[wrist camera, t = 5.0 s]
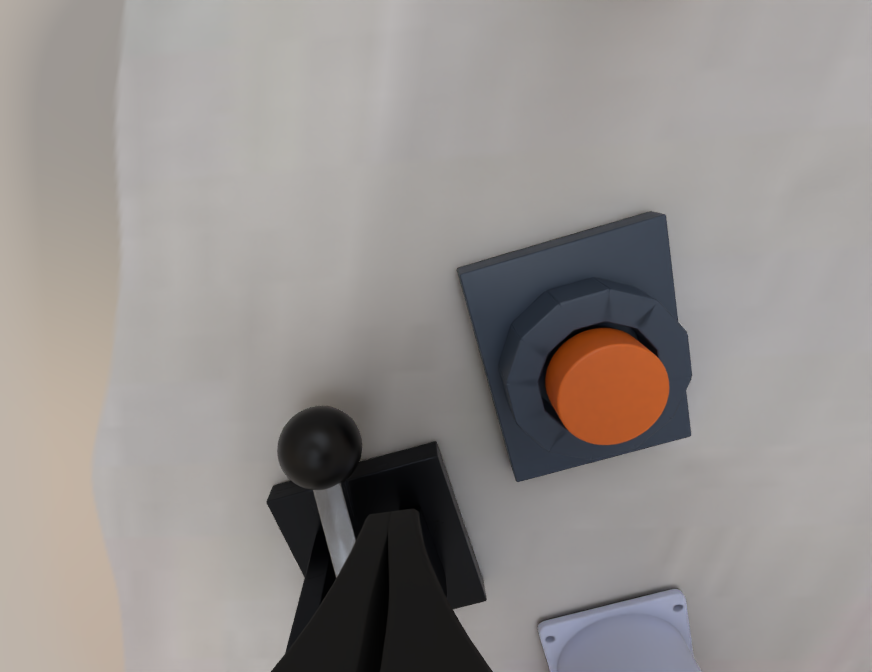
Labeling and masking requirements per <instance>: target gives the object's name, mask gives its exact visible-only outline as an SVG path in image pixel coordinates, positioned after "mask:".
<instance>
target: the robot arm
mask: <svg viewBox="0 0 872 672" xmlns="http://www.w3.org/2000/svg"><path fill="white" fill-rule="evenodd" d="M538 633H539V636H540V640H541V643H542V646H543V650H544V653H545V656H546V660H547V663H548V666H549V670H550V672H702V671H701V669H700V667H699V665H698V664H697V662H696V660H695V658H694V655H693V647H692V640H691V633H690V626H689V619H688V612H687V605H686V598H685V596H684V594H683V593H682V591H681V590H679V589H671V590H667V591H662V592H658V593H654V594H650V595H646V596H642V597H638V598H634V599H630V600H626V601H622V602H618V603H614V604H610V605H606V606H602V607H598V608H594V609H590V610H586V611H582V612H578V613H574V614H570V615H566V616H561V617H557V618H553V619H549V620H545V621H543V622H541V623H540V624H539V625H538ZM271 672H493V671H492V670H491V669H490V667H489V666H488V664H487V663H486V661H485V660H484V658H483V657H482V656H481V654H480V653H479V651H478V650H477V648H476V647H475V645H474V644H473V643H472V641H471V640H470V638H469V636H468V635H467V633H466V631H465V630H464V628H463V627H462V625H461V623H460V622H459V620H458V618H457V616H456V615H455V613H454V611H453V609H452V607H451V606H450V604H449V602H448V600H447V598H446V596H445V594H444V592H443V590H442V588H441V586H440V583H439V581H438V579H437V577H436V575H435V572H434V570H433V567H432V565H431V562H430V560H429V557H428V554H427V552H426V549H425V546H424V540H423V534H422V529H421V523H420V517H419V512H418V511H417V510H415V509H407V510H399V511H392V512H384V513H377V514H369V516H368V517H367V518H366V520H365V522H364V524H363V527H362V529H361V531H360V533H359V536H358V538H357V540H356V542H355V544H354V546H353V548H352V550H351V552H350V554H349V556H348V558H347V560H346V561H345V563H344V565H343V567H342V569H341V571H340V572H339V574H338V576H337V578H336V580H335V581H334V583H333V585H332V586H331V588H330V590H329V591H328V593H327V595H326V596H325V598H324V599H323V601H322V603H321V604H320V606H319V608H318V609H317V611H316V612H315V614H314V615H313V617H312V618H311V620H310V621H309V623H308V624H307V625H306V627H305V628H304V630H303V631H302V632H301V634H300V635H299V636H298V638H297V639H296V641H295V642H294V643H293V645H292V646H291V647H290V648H289V650H288V651H287V652H286V653H285V655H284V656H283V657H282V658H281V660H280V661H279V662H278V663H277V665H276V666H275V667H274V668H273V670H272V671H271Z"/></svg>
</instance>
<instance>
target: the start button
mask: <svg viewBox="0 0 872 672" xmlns="http://www.w3.org/2000/svg"><path fill="white" fill-rule="evenodd" d="M545 387H546V392H547V395H548V398H549V400H550V402H551V404H552V406H553V407H554V409H555V411H556V413H557V415H558V416H559V418H560V420H561V422H562V423H563V425H564V426H565V428H566V429H567V430H568V431H569V432H570V433H571V434H573V435H574V436H575V437H577V438H579V439H580V440H583V441H585V442H588V443H592V444H597V445H614V444H619V443H623V442H626V441H629V440H631V439H634V438H636V437H638V436H639V435H641V434H642V433H644V432H645V431H647V430H648V429H649V428H650V427H651V426H652V425H653V424H654V423H655V422H656V421H657V420H658V418H659V417H660V415H661V414H662V412H663V410H664V408H665V406H666V403H667V400H668V396H669V379H668V374H667V371H666V369H665V367H664V365H663V363H662V362H661V361H660V359H659V358H658V357H657V356H656V355H655V354H654V353H652V352H651V351H650V350H649V349H647V348H646V347H645V346H644V345H643V344H641V343H640V342H639V341H638V340H636V339H635V338H634V337H633V336H631V335H630V334H628V333H626V332H624V331H621V330H618V329H613V328H595V329H590V330H586V331H584V332H581V333H579V334H577V335H575V336H573V337H571V338H570V339H568V340H567V341H566V342H565V343H563V344H562V345H561V346H560V347H559V348H558V350H557V351H556V352H555V354H554V355H553V357H552V358H551V360H550V363H549V365H548V368H547V371H546V377H545Z"/></svg>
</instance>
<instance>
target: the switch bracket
mask: <svg viewBox="0 0 872 672" xmlns="http://www.w3.org/2000/svg"><path fill="white" fill-rule="evenodd" d="M347 480H348V484H349V487H350V491H351V495H352V499H353V502H354V506H355V510H356V513H357V517H358V521H359V525H360V528H361V529H362V527H363V524H364V522H365V520H366V518H367V517H368V516H369V514H377V513H384V512H392V511H399V510H407V509H415V510H417V511H418V512H419V517H420V523H421V529H422V534H423V540H424V546H425V549H426V552H427V554H428V557H429V560H430V562H431V565H432V567H433V570H434V572H435V575H436V577H437V579H438V581H439V583H440V586H441V588H442V590H443V592H444V594H445V596H446V598H447V600H448V602H449V604H450V606H451V607H452V609H456V608H460V607H464V606H468V605H472V604H476V603H480V602H484V601H486V600H487V599H486V593H485V587H484V581H483V578H482V575H481V572H480V569H479V566H478V563H477V560H476V557H475V554H474V552H473V549H472V546H471V543H470V540H469V537H468V534H467V531H466V528H465V525H464V522H463V519H462V516H461V513H460V510H459V507H458V504H457V501H456V498H455V495H454V492H453V489H452V486H451V483H450V480H449V477H448V474H447V471H446V468H445V465H444V462H443V459H442V456H441V453H440V451H439V448H438V445H437V442H431V443H428V444H424V445H420V446H417V447H413V448H409V449H406V450H402V451H398V452H395V453H391V454H387V455H384V456H380V457H376V458H373V459H369V460H365V461H362V462H359V463H358V465H357V467H356V469H355V470H354V472H353V473H352V474H351V476H350V477H349V478H348V479H347ZM267 505H268V507H269V508H270V510H271V512H272V514H273V516H274V518H275V520H276V522H277V524H278V526H279V528H280V530H281V532H282V534H283V536H284V538H285V540H286V542H287V544H288V546H289V548H290V550H291V552H292V553H293V555H294V557H295V559H296V561H297V563H298V565H299V567H300V569H301V571H302V573H303V575H304V577H305V579H304V583H303V587H302V591H301V595H300V598H299V602H298V606H297V610H296V614H295V618H294V622H293V625H292V629H291V633H290V637H289V641H288V645H287V649H286V652H287V651H288V650H289V648H290V647H291V646H292V645H293V643H294V642H295V641H296V639H297V638H298V636H299V635H300V634H301V632H302V631H303V630H304V628H305V627H306V625H307V624H308V623H309V621H310V620H311V618H312V617H313V615H314V614H315V612H316V611H317V609H318V608H319V606H320V604H321V603H322V601H323V599H324V598H325V596H326V595H327V593H328V591H329V590H330V588H331V586H332V585H333V583H334V581H335V580H336V575H335V571H334V568H333V564H332V560H331V556H330V552H329V549H328V545H327V541H326V537H325V534H324V530H323V526H322V522H321V518H320V515H319V511H318V507H317V503H316V499H315V496H314V492H313V490H310V489H305V488H302V487H300V486H298V485H296V484H295V483H293V482H292V481H288V482H285V483H281V484H277V485H274V486H273V488H272V490H271V492H270V495H269V497H268V499H267Z"/></svg>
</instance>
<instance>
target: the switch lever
mask: <svg viewBox="0 0 872 672" xmlns="http://www.w3.org/2000/svg"><path fill="white" fill-rule="evenodd" d="M277 452H278V460H279V463H280V466H281V468H282V470H283V472H284V473H285V475H286V476H287V477H288V478H289V479H290V480H291V481H292V482H293V483H295V484H296V485H298V486H300V487H302V488H305V489H310V490H313V492H314V496H315V499H316V503H317V507H318V511H319V515H320V518H321V522H322V526H323V530H324V534H325V537H326V541H327V545H328V549H329V552H330V556H331V560H332V564H333V568H334V571H335V575H336V578H337V576H338V574H339V572H340V571H341V569H342V567H343V565H344V563H345V561H346V560H347V558H348V556H349V554H350V552H351V550H352V548H353V546H354V544H355V542H356V540H357V538H358V536H359V533H360V531H361V528H360V525H359V521H358V517H357V513H356V510H355V506H354V502H353V499H352V495H351V491H350V487H349V484H348V480H347V479H348V478H349V477H350V476H351V474H352V473H353V472H354V470H355V469H356V467H357V465H358V463H359V461H360V458H361V453H362V439H361V434H360V431H359V429H358V427H357V425H356V424H355V422H354V421H353V420H352V418H351V417H350V416H348V415H347V414H346V413H344V412H343V411H341V410H339V409H336V408H333V407H329V406H315V407H310V408H307V409H305V410H303V411H301V412H299V413H297V414H296V415H294V416H293V417H292V418H291V419H290V420H289V421H288V423H287V424H286V425H285V427H284V428H283V430H282V432H281V434H280V437H279V441H278V448H277Z"/></svg>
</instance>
